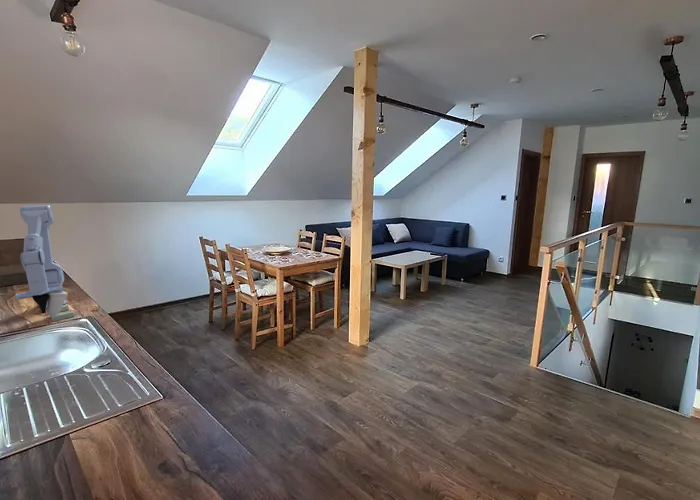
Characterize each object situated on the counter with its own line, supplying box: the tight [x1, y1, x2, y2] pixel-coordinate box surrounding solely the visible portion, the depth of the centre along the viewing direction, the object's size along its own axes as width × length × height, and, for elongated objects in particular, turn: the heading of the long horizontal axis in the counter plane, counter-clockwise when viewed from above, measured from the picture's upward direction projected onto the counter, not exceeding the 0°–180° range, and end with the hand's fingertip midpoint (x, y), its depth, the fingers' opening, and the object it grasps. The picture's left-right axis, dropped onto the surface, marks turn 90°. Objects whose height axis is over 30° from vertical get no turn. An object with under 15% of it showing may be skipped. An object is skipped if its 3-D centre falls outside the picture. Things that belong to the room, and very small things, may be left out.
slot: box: [46, 304, 75, 322], centre depth 153 cm, size 13×7×2 cm, turn 45°
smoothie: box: [46, 282, 69, 317], centre depth 152 cm, size 6×6×14 cm
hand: (44, 312), depth 149 cm, fingers closed
